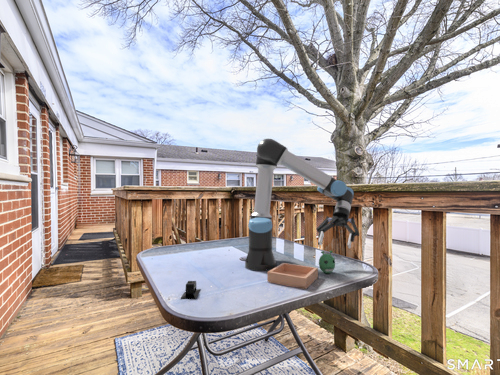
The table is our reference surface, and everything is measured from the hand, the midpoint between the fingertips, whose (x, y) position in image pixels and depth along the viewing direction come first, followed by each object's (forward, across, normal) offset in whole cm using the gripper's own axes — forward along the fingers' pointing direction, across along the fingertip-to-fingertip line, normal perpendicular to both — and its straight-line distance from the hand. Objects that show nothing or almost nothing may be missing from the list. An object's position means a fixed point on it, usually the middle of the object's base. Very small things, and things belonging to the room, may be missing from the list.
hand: (333, 245), depth 118 cm
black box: (+50, +33, +33) cm, 68 cm away
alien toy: (+13, +1, -3) cm, 14 cm away
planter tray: (+25, +10, +9) cm, 28 cm away
